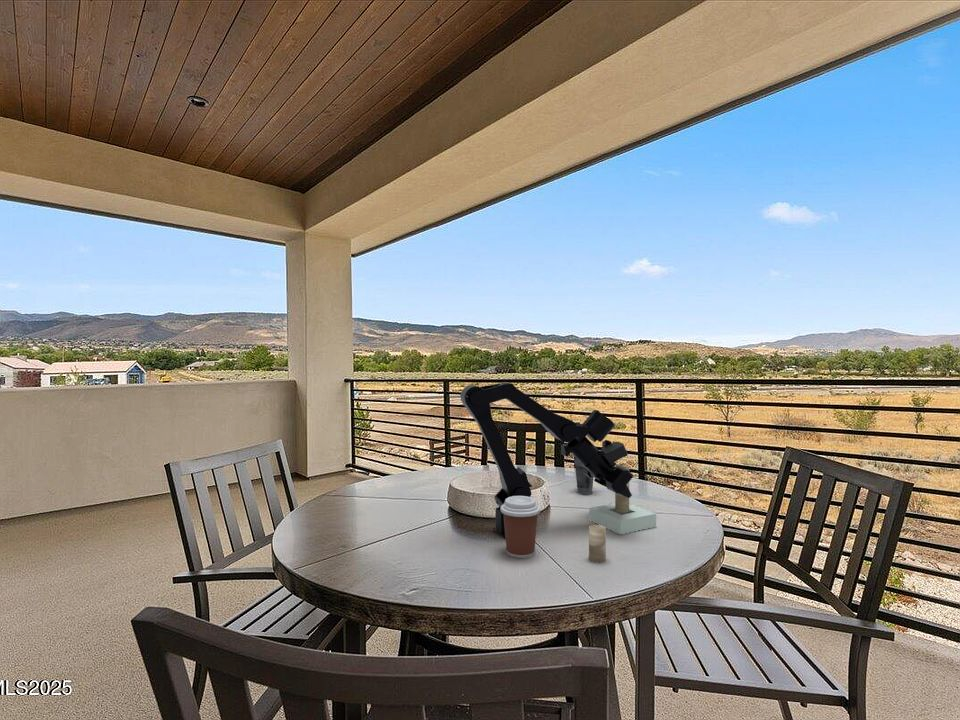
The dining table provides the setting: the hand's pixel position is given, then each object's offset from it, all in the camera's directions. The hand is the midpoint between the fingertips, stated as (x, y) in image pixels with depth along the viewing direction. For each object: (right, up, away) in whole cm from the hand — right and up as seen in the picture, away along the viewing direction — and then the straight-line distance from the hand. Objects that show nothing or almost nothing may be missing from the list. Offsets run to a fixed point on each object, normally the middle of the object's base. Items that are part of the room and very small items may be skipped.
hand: (626, 494), depth 132 cm
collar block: (-1, -8, 0) cm, 8 cm away
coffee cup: (-30, -8, -19) cm, 36 cm away
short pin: (-13, -8, -23) cm, 28 cm away
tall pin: (-1, -7, 0) cm, 7 cm away
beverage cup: (-5, -8, +29) cm, 31 cm away
